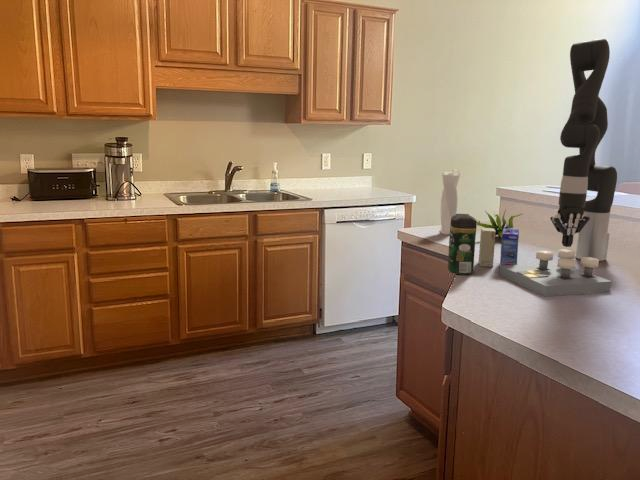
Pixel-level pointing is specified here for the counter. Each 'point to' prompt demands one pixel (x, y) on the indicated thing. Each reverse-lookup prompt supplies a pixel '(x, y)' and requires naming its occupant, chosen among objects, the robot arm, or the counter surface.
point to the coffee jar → (462, 244)
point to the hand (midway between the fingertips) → (566, 246)
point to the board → (554, 280)
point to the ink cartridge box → (509, 246)
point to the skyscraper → (448, 200)
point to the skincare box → (487, 247)
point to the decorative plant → (498, 223)
